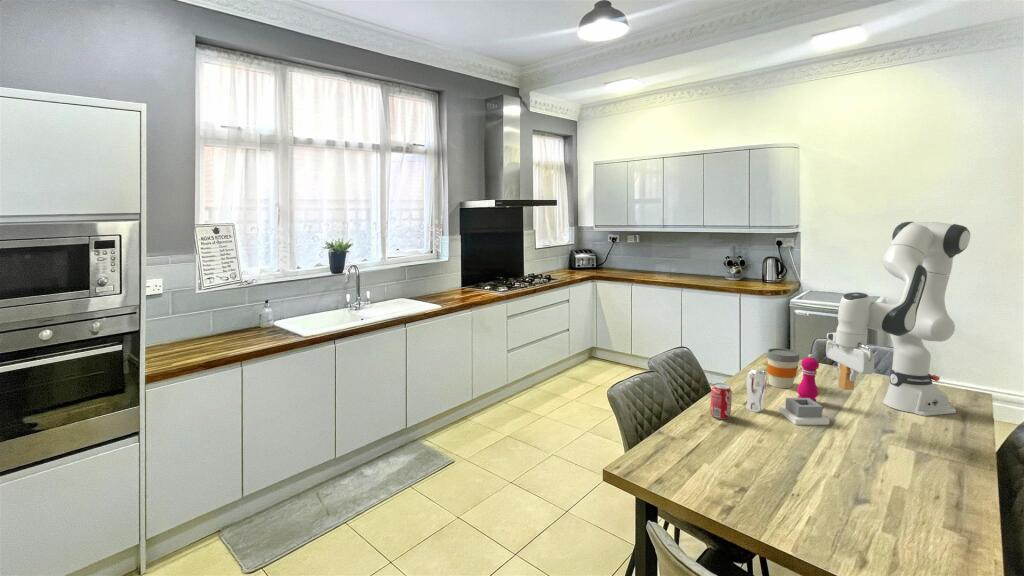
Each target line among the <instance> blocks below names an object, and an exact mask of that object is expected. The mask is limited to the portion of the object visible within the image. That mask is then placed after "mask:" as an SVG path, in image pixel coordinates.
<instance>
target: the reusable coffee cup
mask: <svg viewBox="0 0 1024 576" xmlns="http://www.w3.org/2000/svg"><path fill="white" fill-rule="evenodd" d="M766 357H767V361H766V368H767V372H766V373H767V374H768V381H769V382H768V383H769V385H770V386H771V385H772V387H774V388H777V387H778V388H779V389H785V388H788V389H792V388H793V385H794V382H795V378H796V377H797V373H798V368H799V365H798V364H799V361H800V353H799V352H798V351H796V350H793V349H789V348H787V349H786V348H781V347H779V348H778V347H777V348H769V349H767V353H766ZM791 387H792V388H791Z"/></svg>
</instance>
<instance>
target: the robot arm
mask: <svg viewBox="0 0 1024 576" xmlns="http://www.w3.org/2000/svg"><path fill="white" fill-rule="evenodd" d="M891 239H892V241H891V242H890V244H889V246H888V247H887V248H886V250H885V252H884V254H883V257H882V265H883V267H884V269H885V270H886V271H887V272H888V273H889V274H891V276H893V277H895V278H897V279H899V280H901V281H904V282H905V285H904V288H903V290H902V291H903V292H902V294H901V297H900V300H899V302H897V303H886V302H880V301H876V300H875V301H874V300H873V299H870V296H869V295H868V294H867V293H864V292H847V293H846V294H845V293H844V294H843V295H842V297H841V299H840V302H839V307H838V311H837V312H838V313H837V320H838V321H837V322H838V325H837V326H836V331H835V332H828V333H827V334H826V339H827V341H826V344H825V345H826V347H825V354H826V357H827V358H828V359H830V360H832V361H835V362H836V363H837V368H838V370H839V372H838V373H839V375H838V376H840V366H841V364H843V365H845V366H847V367H849V368H851V370H850V371H851V374H850V375H848V380H850V381H855V382H856V381H857V376H858V375H859V374H862V375H872V374H873V373H874V372H875V355H874V353H873V351H872V349H871V346H868V345H867V342H868V332H869V331H868V329H871V330H872V331H873V330H874V331H878V332H883V333H885V334H886V333H887V334H889V336H890V339H891V343H892V347H893V348H892V349H893V353H892V354H893V355H892V366H891V367H890V371H889V384H888V388H887V391H886V394H885V396H884V399H883V400H882V403H883V404H884V405H886V406H887V407H890V408H891V409H895V410H898V411H902V412H907V413H912V414H916V415H919V416H923V417H925V416H926V417H927V416H928V417H929V416H939V415H940V416H941V415H950V414H956V413H957V410H956V408H954V407H953V406H952V405H950V404H949V397H948V394H946V393H945V392H944V391H943V390H942V389H940V387H938V386H937V385H936V384H934V383H933V381H935V382H939V381H940V380H941V379H940V376H939V375H936V374H931V373H930V365H931V358H932V356H931V355H932V354H931V353H930V351H929V350H928V349H927V348H926V347H925V345H924V343H923V341H928V342H945V341H948V340H949V339H951V338H952V336H953V335H954V333H955V330H956V326H955V321H953V319H952V318H951V316H950V315H949V314H948V313H949V312H948V311H947V308H946V301H945V298H946V293H947V292H946V291H947V287H948V283H949V280H950V277H951V276H950V275H951V273H952V268H953V261H954V258H955V256H956V255H960V254H961V253H963V252H964V251H965V250H966V249H967V247H968V246H969V243H970V239H971V233H970V230H969V229H968V228H967V227H966V226H964V225H961V224H957V223H953V224H951V223H947V222H946V223H945V222H937V221H931V222H929V221H928V222H927V221H925V222H924V221H918V222H917V221H916V222H914V221H905V222H901V223H900V224H898V225H897V226H896V227H895V228H894V229H893V232H892V238H891ZM922 340H923V341H922Z"/></svg>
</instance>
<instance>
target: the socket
mask: <svg viewBox="0 0 1024 576" xmlns="http://www.w3.org/2000/svg"><path fill="white" fill-rule="evenodd" d="M777 407H778V408H777V412H778V413H780V414H781V415H782V416H783V417H785V419H788V421H790V422H791V423H793V424H794V425H795V426H797V425H798V426H800V425H801V426H802V425H807V426H808V425H810V426H812V425H813V426H814V425H816V426H818V425H821V426H824V425H826V426H827V425H830V418H828V417H827V416H826V415H824V414H823V409H824V406H823V405H821V404H820V403H818V402H817V401H816V402H815V401H813V400H811V399H810V398H798V397H785V405H778V406H777Z"/></svg>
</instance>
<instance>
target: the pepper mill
mask: <svg viewBox="0 0 1024 576" xmlns="http://www.w3.org/2000/svg"><path fill="white" fill-rule="evenodd" d="M807 356H808V357H804V358H803V359H802V360H801V363H800V364H801V367H802V368H801V370H802V371H801V372H802V380H801V382H800V383H799V385H798V386H797V389H796V391H797V392H796V393H797V394H798V396H797V398H810V399H811V400H813V401H815V402H816V403H817V399H816V398H817V397H818V396H819V389H818V387H817V384H816V375H817V374H818V373H817V372H818V371H817V370H819V367H820V362H819V361H818V359H816V358H814V354H812V353H810V354H807Z"/></svg>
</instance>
